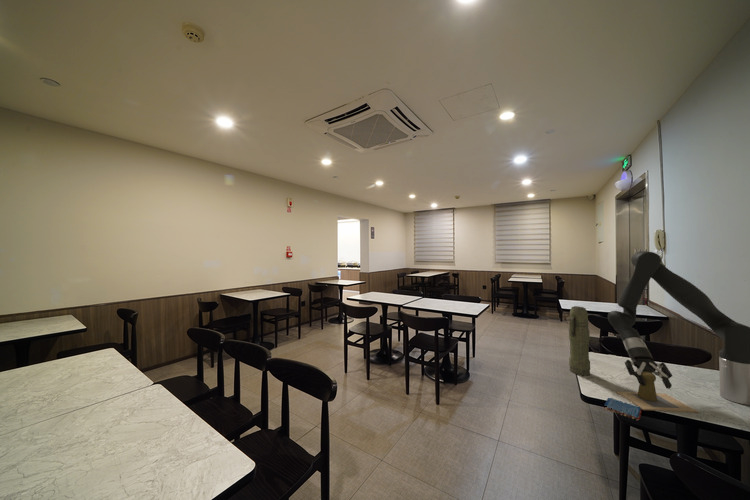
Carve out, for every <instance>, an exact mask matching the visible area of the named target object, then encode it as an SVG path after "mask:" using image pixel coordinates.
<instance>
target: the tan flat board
mask: <svg viewBox="0 0 750 500" xmlns="http://www.w3.org/2000/svg"><path fill="white" fill-rule="evenodd" d="M616 393H617V394H618V395H619V396H621V397H622V398H624V399H625V400H627V401H629V403H630V402H631V404H632V405H634V406H637V407H640V409H642V410H643V411H653V410H655V412H656V410H658V412H675V413H676V412H677V413H699V411H698V410H697V409H695V408H693V407H691V406H689V404H688V405H687V404H685V403H684V402H682V401H681V400H678V399H676V398H675V397H672V396H671V395H668V394H667V393H662V392H661V393H660V392H659V393H658V392H656V396H657V401H649V400H645V399H643V398H641V397H639V396H638V395H637V394H638V391H634V392H633V391H616ZM642 410H641V411H642Z"/></svg>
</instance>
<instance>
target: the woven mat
mask: <svg viewBox="0 0 750 500" xmlns="http://www.w3.org/2000/svg"><path fill="white" fill-rule="evenodd" d="M604 406H607V407H603V409H604V410H606V411H608V410H609V412H613V413H616V414H620V416H624V417H628V418H631V419H632V420H634V419H635V420H636V421H639V420H640V419H641V416H642V415H641V414H642V409H641V408H640V407H638V406H636V405H634V404H632V403H628V402H624V401H622V400H619V399H614V398H613V397H607V399H606V401H605V403H604ZM611 408H612V409H611Z"/></svg>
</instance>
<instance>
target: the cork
mask: <svg viewBox="0 0 750 500" xmlns="http://www.w3.org/2000/svg"><path fill="white" fill-rule="evenodd" d="M641 376H642V377H643V379H644V381H645V383H646V385H645V386H642V385H641V384H638V385H639V386H638V390H637V392H638V394H637V395H638V396H639V397H641V398H643V399H645V400H649V401H657V396H656V393H657V391H656V386H655V382H656V380H657V377H656V376H657V375H655V374H654V373H650V372H647V371H642V373H641Z"/></svg>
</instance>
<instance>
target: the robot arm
mask: <svg viewBox="0 0 750 500" xmlns="http://www.w3.org/2000/svg"><path fill="white" fill-rule="evenodd" d="M630 262H631V264H632V265H633V267H634V270H633V272H632V273H633V274H632V276H631V277H630V280H629V281H628V283H626V285H625V287H624V288H623V290H622V291H621V294H620V297H619V299H618V301H617V305H618V306H619V307H621V308H622V309H623V311H618V310H612V311H609V313H608V314H607V320H608V322H609V324H610V325H611V326H612V327H613V329H614V330H615V331H616V332H617V334H618V335H619V337H620V338H621V340H622V343H623V345H624V348H625V350H626V352H627V354H628V356H629V358H630V359H626V361H625V362H624V365H625V367H626V369H627V372H628V374H629V375H630V376H634V377H635V379H636V380H637V382H638V383H639V384H641V385H642V386H645V385H646V383H645V381H644V379H643V377H642V376H641V373H642V371H647V372H650V373H653V374H654V375H655V376H658V378H660V379H661V381H662V383H663V385H664V386H665V388H666V389H669V390H670V389H671V388H672V383H671V382H670V380H669V379H670V378H673V374H672V373H671V371H670V369H669V368H668V366H667V365H666V363H664V362H660V363H657V362H656V361H655V360H654V357H653V356H652V353H651V351H650V350H649V349H648V347H647V345H646V343H645V341H644V340H643V339H642V337H641V335H640V334H639V333H640V332H638V330H637V329H635V328H633V326H634V325H635V323H636V321H637V320H636V319H637V307H638V305H639V303H640V301H641V298H642V297H643V294H644V292H645V289H646V287H647V285H648V283H649V282H650V281H651V279H652V280H654V281H655V282H656V284H657V285H659V286H660V287H661V289H662V290H664V291H665V292H666V293H667V294H669V296H671V297H672V299H674V300H675V301H676V302H677V303H679V304H680V305H681V306H682V307H684V308H685V309H687V310H688V311H690V312H691V313H692V314H694V315H695V316H696V317H698V318H699V319H700V320H701V321H702V322H703V323H704V324H706V326H707V327H708V328H710V329H711V331H712V332H713V333H714V334H716V335H717V337H719V338H720V339H721V340H723V348H722V349H720V350H719V352H718V362H719V363H718V364H719V366H718V367H719V369H718V370H719V395H720V397H722V398H723V399H725V400H728V401H730V402H733V403H734V402H735V403H738V404H740V405H741V404H742V405H747V406H750V326H748V325H745V324H742V323H740V322H737V321H735V320H734V319H732V318H731V317H729V316H727V315H726V314H725V313H723V312H722V311H721V310H719V309H718V308H717V306H715V304H714V303H713V302H712V300H711V299H710V297H709V296H708V295H707V294H706V293H704V291H702V289H699V288H698V287H697V286H696V285H694V284H693V283H691V282H690V281H689V280H687V279H685V278H683V276H680V275H679V274H676V273H675V272H673V271H672V270H670V269H669V268H668V267H666V266H665V265H664V264H663V263H662V258H661V257H660V255H659V254H658V253H656V252H653V251H647V250H645V251H644V250H643V251H637V252H635V253H633V254H632V256H631V257H630ZM633 366H634V367H635V368H636V369H634V367H633ZM639 384H638V385H639Z"/></svg>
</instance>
